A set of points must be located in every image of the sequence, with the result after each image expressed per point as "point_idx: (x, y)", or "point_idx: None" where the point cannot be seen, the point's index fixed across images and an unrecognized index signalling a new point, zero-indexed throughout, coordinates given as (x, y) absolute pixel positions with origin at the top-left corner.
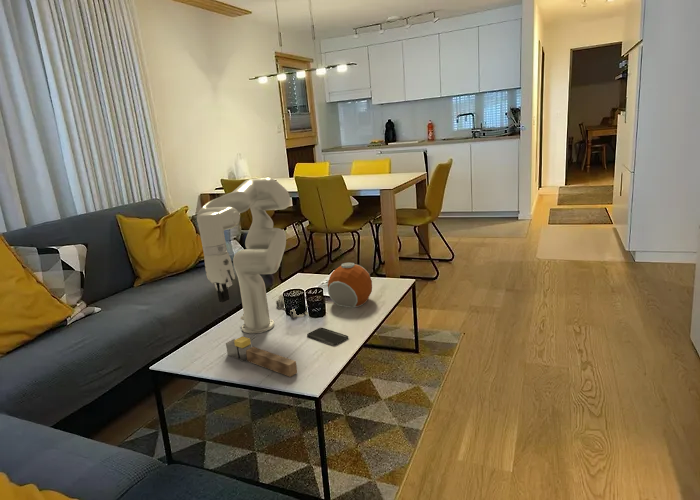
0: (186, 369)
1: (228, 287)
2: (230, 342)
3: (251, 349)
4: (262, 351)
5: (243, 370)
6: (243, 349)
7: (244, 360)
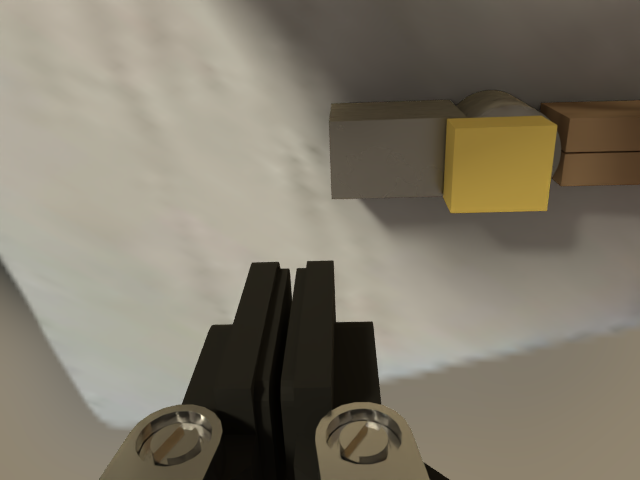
0: None
1: (413, 437)
2: (355, 174)
3: (593, 156)
4: None
5: (583, 238)
6: None
7: None
